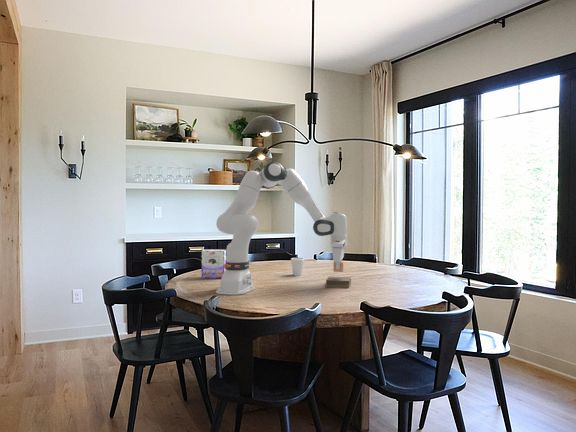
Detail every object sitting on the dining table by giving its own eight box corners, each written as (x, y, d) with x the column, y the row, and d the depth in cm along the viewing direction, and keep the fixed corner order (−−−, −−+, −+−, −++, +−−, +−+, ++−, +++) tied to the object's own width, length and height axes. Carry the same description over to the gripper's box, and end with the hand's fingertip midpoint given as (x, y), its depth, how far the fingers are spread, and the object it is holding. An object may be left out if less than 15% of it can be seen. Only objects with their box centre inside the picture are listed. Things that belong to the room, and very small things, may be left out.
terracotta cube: (342, 271, 249) (343, 262, 248) (333, 271, 250) (333, 262, 249) (343, 270, 253) (343, 261, 253) (334, 270, 255) (334, 261, 254)
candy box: (226, 277, 277) (226, 249, 276) (224, 278, 271) (224, 250, 270) (203, 276, 278) (203, 249, 278) (201, 278, 273) (200, 250, 272)
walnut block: (348, 288, 245) (349, 281, 244) (326, 287, 247) (326, 280, 247) (350, 284, 256) (350, 277, 256) (329, 283, 259) (329, 276, 259)
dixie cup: (288, 274, 287) (288, 258, 286) (301, 273, 290) (301, 257, 289) (293, 276, 279) (293, 259, 278) (306, 275, 282) (306, 259, 281)
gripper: (335, 240, 262) (335, 265, 262) (330, 244, 242) (330, 270, 242) (346, 240, 260) (346, 265, 261) (342, 244, 240) (342, 271, 241)
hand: (338, 268), depth 252 cm, fingers closed on terracotta cube, 5 cm apart
